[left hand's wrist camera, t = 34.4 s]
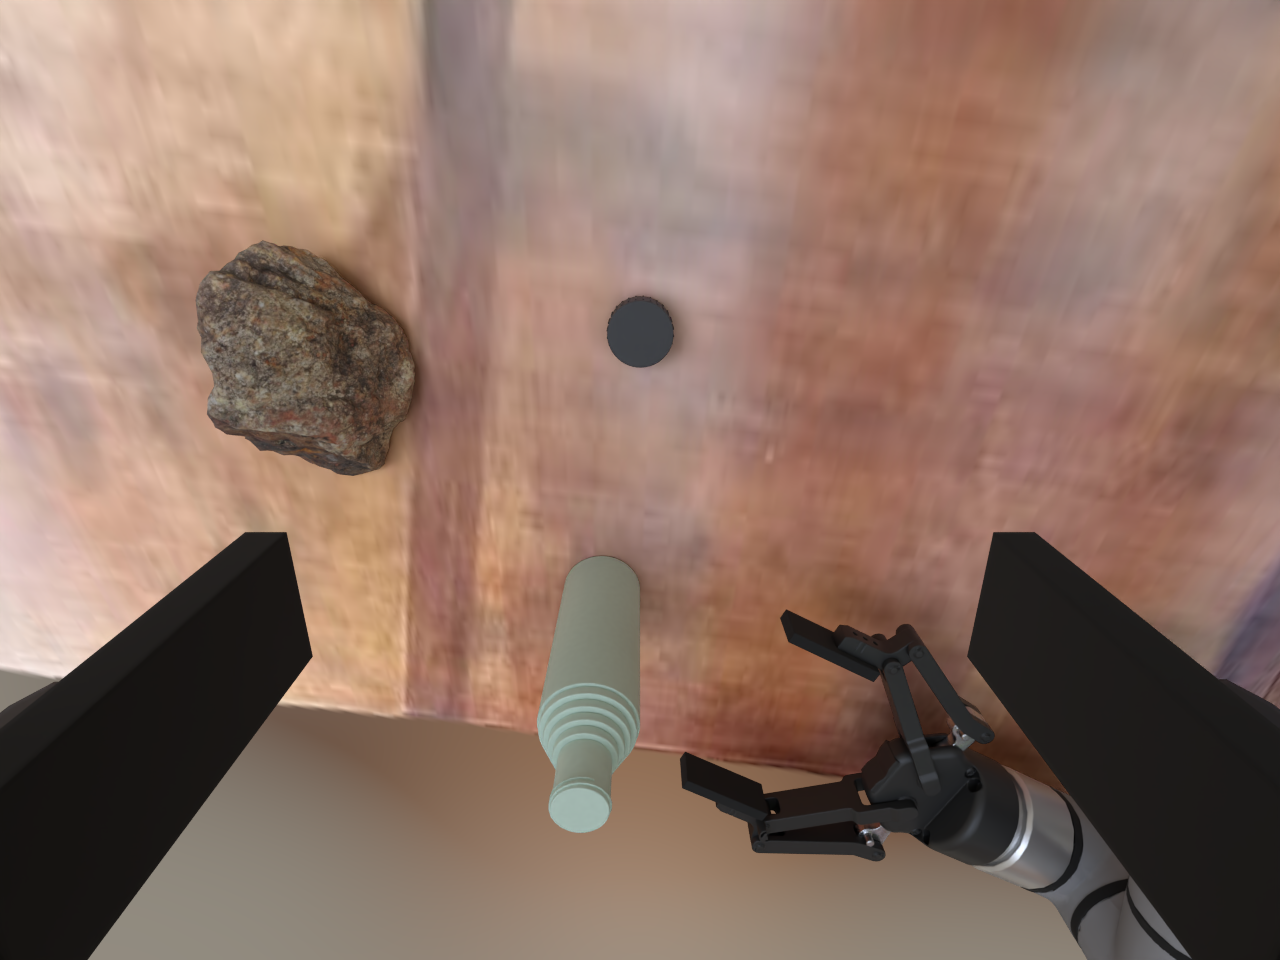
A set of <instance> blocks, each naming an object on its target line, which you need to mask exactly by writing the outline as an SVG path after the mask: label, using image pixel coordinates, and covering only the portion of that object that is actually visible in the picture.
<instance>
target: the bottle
mask: <svg viewBox="0 0 1280 960" xmlns="http://www.w3.org/2000/svg"><path fill="white" fill-rule="evenodd" d="M537 727H538V732H539V739H540V742H541V744H542V746H543V748H544V750H545V751H546V754H547V755H548V757H549V759H550V761H551V762H552V764H553V766H554V768H555V770H556V773H555V779H554V786H553V790H552V792H551V795H550V800H549V813H550V816H551V818H552V819H553V820H554V822H555V823H556V824H557V825H559V826H560V827H561V828H563V829H566V830H568V831H571V832H577V833H584V832H590V831H593V830H596V829H598V828H599V827H601V826H602V825H603V824H604V823H605V822H606V821H607V819H608V817H609V814H610V812H611V809H612V801H611V777H612V774H613V773H614V771H615V770H616V769H617V768H618V767H619V765H620V764H621V763H622V762H623V761H624V759H625V758H626V757H627V756H628V755H629V754H630V752H631V751H632V749H633V747H634V745H635V743H636V739H637V737H638V734H639V730H640V585H639V581H638V578H637V576H636V574H635V573H634V571H633V570H632V569H631V568H630V567H629V566H628V565H627V564H625V563H624V562H622V561H620V560H618V559H616V558H612V557H607V556H595V557H591V558H587V559H585V560H583V561H581V562H579V563H578V564H576V565H575V566H574V567H573V568H572V569H571V571H570V572H569V574H568V576H567V578H566V581H565V585H564V590H563V595H562V600H561V605H560V610H559V614H558V619H557V624H556V629H555V634H554V639H553V644H552V649H551V654H550V658H549V663H548V668H547V673H546V678H545V683H544V688H543V693H542V698H541V703H540V707H539V712H538V718H537Z"/></svg>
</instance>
